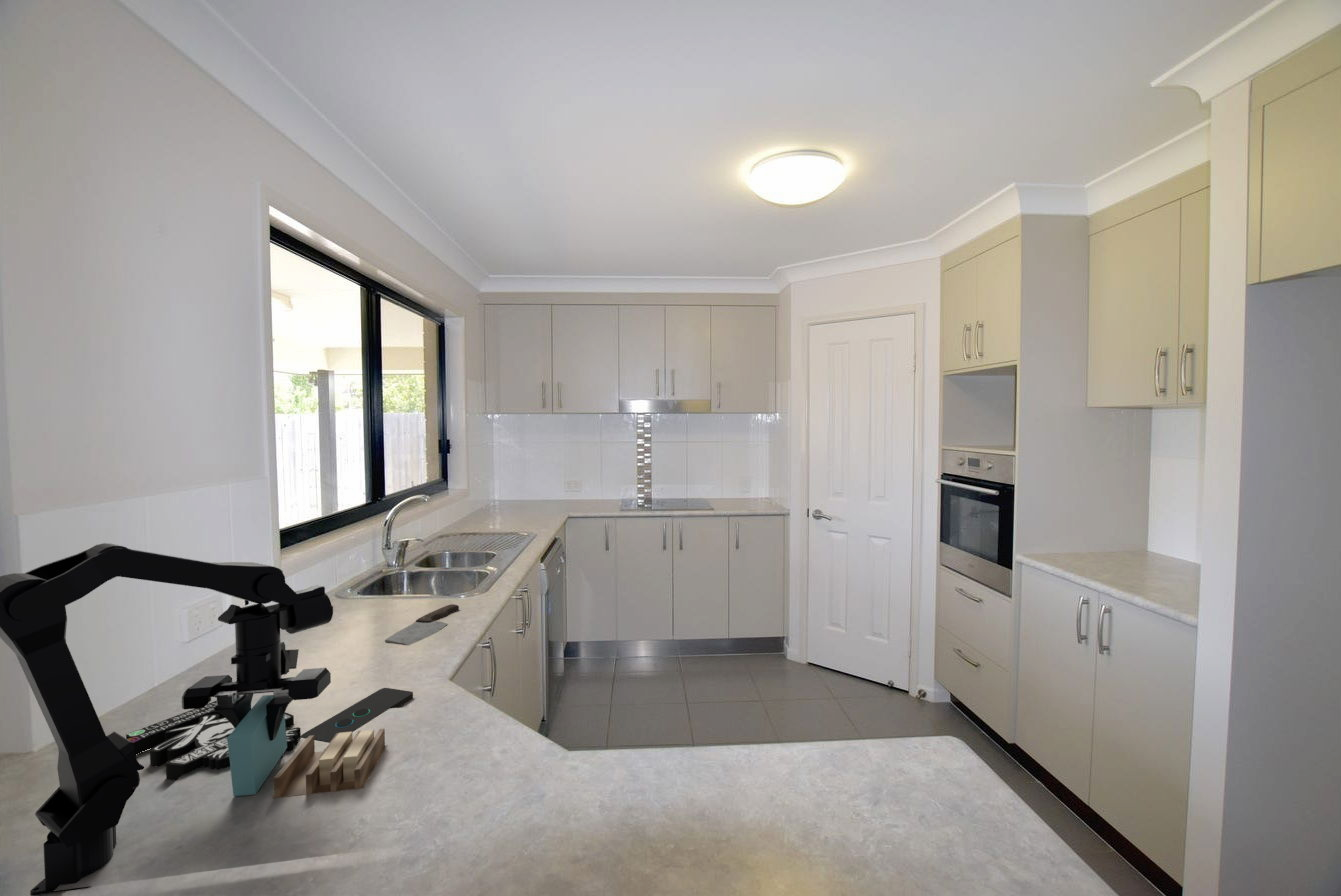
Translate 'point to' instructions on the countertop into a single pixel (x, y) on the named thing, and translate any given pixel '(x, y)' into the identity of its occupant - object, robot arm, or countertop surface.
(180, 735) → the sign
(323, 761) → the block
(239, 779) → the block
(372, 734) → the offcut front
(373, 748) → the rack
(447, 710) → the countertop surface
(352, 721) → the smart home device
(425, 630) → the cleaver
